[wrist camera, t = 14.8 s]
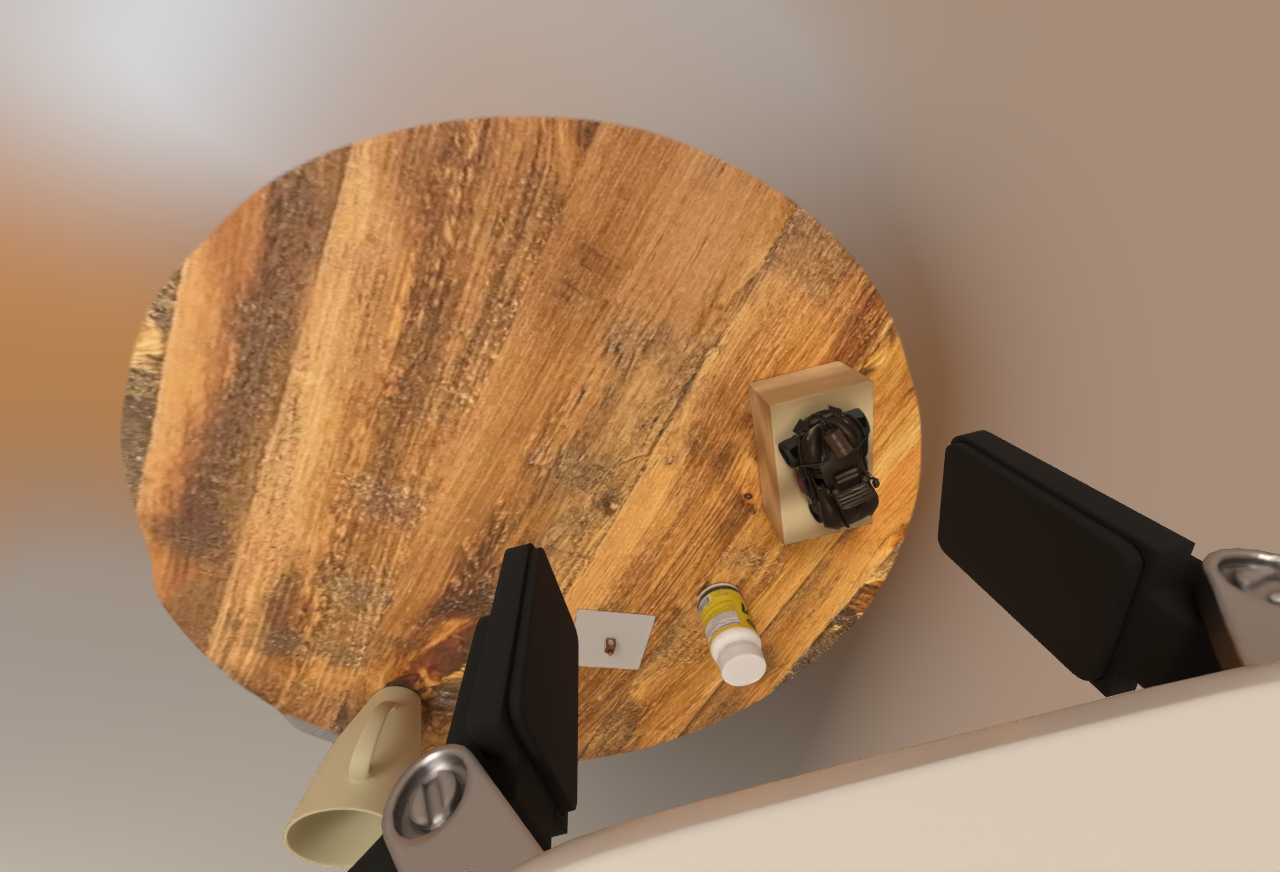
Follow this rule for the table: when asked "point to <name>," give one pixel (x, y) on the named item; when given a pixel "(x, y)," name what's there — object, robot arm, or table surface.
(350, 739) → the mug
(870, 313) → the table surface
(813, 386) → the birch block
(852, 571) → the table surface
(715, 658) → the supplement bottle
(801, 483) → the toy car
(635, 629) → the gray square plate
